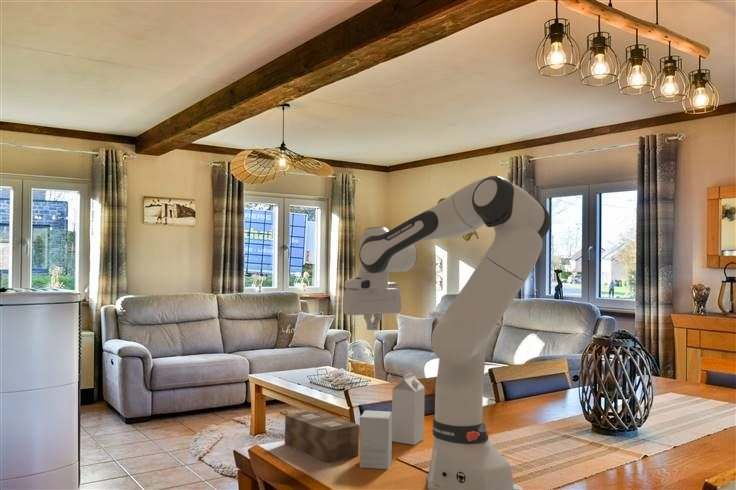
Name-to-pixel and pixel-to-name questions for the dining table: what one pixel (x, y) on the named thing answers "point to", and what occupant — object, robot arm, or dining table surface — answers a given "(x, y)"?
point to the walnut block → (322, 436)
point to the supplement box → (375, 439)
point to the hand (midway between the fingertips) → (372, 329)
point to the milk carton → (408, 411)
